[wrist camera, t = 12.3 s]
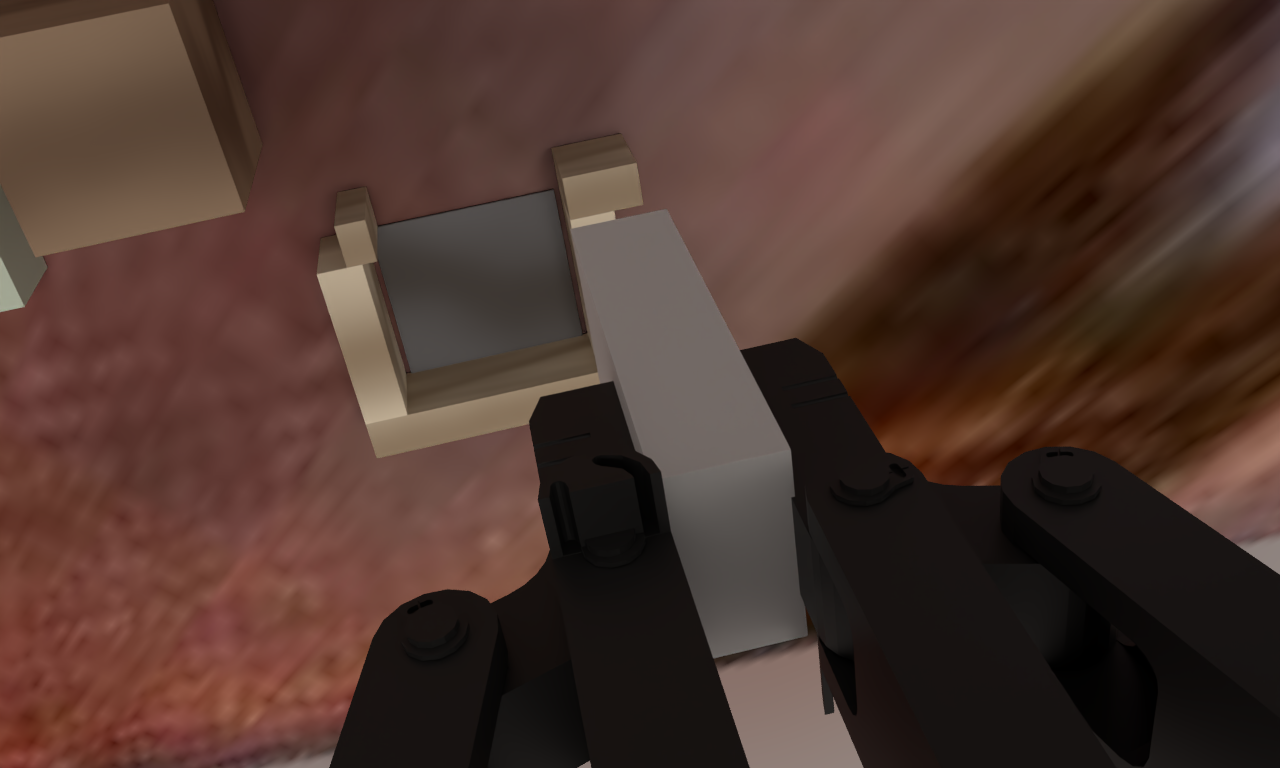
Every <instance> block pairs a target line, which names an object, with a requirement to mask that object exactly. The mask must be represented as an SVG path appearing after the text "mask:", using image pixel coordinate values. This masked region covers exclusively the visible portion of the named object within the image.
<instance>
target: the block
mask: <svg viewBox="0 0 1280 768" xmlns="http://www.w3.org/2000/svg"><path fill="white" fill-rule="evenodd" d="M262 145H263V144H262V142H261V139H260V136H259V133H258V130H257V127H256V124H255V121H254V118H253V116H252V113H251V110H250V107H249V104H248V101H247V98H246V95H245V92H244V89H243V87H242V84H241V81H240V78H239V75H238V72H237V69H236V66H235V63H234V60H233V58H232V55H231V52H230V49H229V46H228V43H227V40H226V37H225V34H224V31H223V29H222V26H221V23H220V20H219V17H218V14H217V11H216V8H215V5H214V2H213V0H0V184H1V186H2V189H3V191H4V193H5V195H6V197H7V199H8V201H9V203H10V205H11V207H12V209H13V211H14V214H15V216H16V218H17V220H18V222H19V224H20V226H21V228H22V230H23V232H24V234H25V237H26V239H27V241H28V243H29V245H30V247H31V249H32V251H33V253H34V255H35V257H40V256H45V255H49V254H54V253H58V252H63V251H67V250H72V249H77V248H81V247H86V246H90V245H95V244H99V243H104V242H109V241H113V240H118V239H122V238H127V237H132V236H136V235H141V234H145V233H150V232H154V231H159V230H164V229H168V228H173V227H177V226H182V225H187V224H191V223H196V222H200V221H205V220H209V219H214V218H219V217H223V216H228V215H232V214H237V213H242V212H245V209H246V205H247V201H248V198H249V194H250V190H251V186H252V183H253V179H254V175H255V171H256V167H257V164H258V160H259V156H260V152H261V149H262Z"/></svg>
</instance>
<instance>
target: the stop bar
mask: <svg viewBox="0 0 1280 768" xmlns="http://www.w3.org/2000/svg"><path fill="white" fill-rule="evenodd" d="M46 269H47V265H46V263H45V261H44V259H43V256H40V257H35V255H34V253H33V251H32V249H31V247H30V245H29V243H28V241H27V239H26V237H25V234H24V232H23V230H22V228H21V226H20V224H19V222H18V220H17V218H16V216H15V214H14V211H13V209H12V207H11V205H10V203H9V201H8V199H7V197H6V195H5V193H4V191H3V189H2V186H1V184H0V312H2V311H7V310H12V309H17V308H21V307H25V305H26V304H27V302H28V300H29V298H30V297H31V295H32V293H33V291H34V290H35V288H36V286H37V285H38V283H39V281H40V279H41V278H42V276H43V274H44V272H45V271H46Z"/></svg>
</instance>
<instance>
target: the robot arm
mask: <svg viewBox="0 0 1280 768" xmlns="http://www.w3.org/2000/svg"><path fill="white" fill-rule="evenodd" d="M570 230H571V235H572V241H573V246H574V251H575V256H576V261H577V267H578V272H579V277H580V282H581V287H582V293H583V298H584V303H585V308H586V314H587V319H588V324H589V329H590V334H591V340H592V345H593V350H594V355H595V360H596V366H597V371H598V376H599V381H600V384H597V385H592V386H588V387H583V388H579V389H574V390H570V391H565V392H561V393H556V394H551V395H547V396H542V397H540V399H539V401H538V403H537V405H536V407H535V409H534V411H533V414H532V416H531V418H530V420H529V425H530V430H531V436H532V441H533V446H534V452H535V457H536V463H537V467H538V473H539V479H540V488H539V495H538V502H539V506H540V510H541V515H542V519H543V523H544V527H545V531H546V535H547V539H548V544H549V548H550V551H549V554H548V557H547V559H546V562H545V563H544V565H543V566H542V567H541V569H540V570H539V572H538V573H537V574H536V575H535V576H534V577H533V578H532V579H531V580H529V581H528V582H527V583H526V584H525V585H524V586H522V587H520V588H519V589H517V590H515V591H514V592H512V593H510V594H509V595H507V596H505V597H503V598H501V599H499V600H497V601H495V602H493V603H491V604H490V603H489V601H488V600H487V599H486V598H483V597H481V596H479V595H477V594H475V593H473V592H471V591H462V590H449V589H447V590H442V591H437V592H432V593H427V594H423V595H421V596H419V597H417V598H415V599H413V600H411V601H409V602H406V603H404V604H402V605H401V606H399V607H398V608H397V609H396V610H395V611H394V612H393V613H391V614H390V615H389V616H388V617H387V618H386V619H384V620H383V622H382V624H381V625H380V627H379V629H378V630H377V632H376V634H375V635H374V637H373V639H372V642H371V645H370V648H369V651H368V654H367V657H366V660H365V663H364V666H363V669H362V672H361V675H360V678H359V681H358V684H357V687H356V690H355V693H354V696H353V699H352V702H351V705H350V708H349V711H348V714H347V717H346V720H345V722H344V725H343V728H342V731H341V734H340V737H339V740H338V743H337V746H336V749H335V752H334V755H333V758H332V761H331V764H330V767H329V768H577V767H579V766H581V765H583V764H585V763H586V762H588V761H590V763H591V768H750V767H749V765H748V762H747V758H746V755H745V753H744V750H743V747H742V744H741V740H740V737H739V734H738V731H737V728H736V725H735V722H734V719H733V716H732V713H731V710H730V708H729V704H728V701H727V698H726V695H725V693H724V689H723V686H722V684H721V680H720V677H719V674H718V671H717V668H716V665H715V662H714V659H713V658H717V657H721V656H726V655H730V654H734V653H738V652H742V651H746V650H750V649H755V648H759V647H763V646H767V645H771V644H775V643H780V642H784V641H788V640H792V639H796V638H800V637H804V636H808V634H807V623H806V612H805V606H806V608H807V611H808V613H809V615H810V617H811V620H812V622H813V624H814V626H815V629H816V631H817V637H818V649H819V659H820V673H821V685H822V695H823V704H824V710H825V714H830V713H834V702H833V697H834V700H835V702H836V704H837V707H838V709H839V711H840V714H841V716H842V718H843V721H844V723H845V725H846V727H847V730H848V732H849V735H850V737H851V739H852V742H853V744H854V746H855V748H856V751H857V753H858V756H859V758H860V760H861V762H862V765H863V767H864V768H1280V575H1279V574H1278V573H1276V572H1275V571H1273V570H1272V569H1271V568H1269V567H1268V566H1266V565H1265V564H1263V563H1262V562H1260V561H1259V560H1258V559H1256V558H1255V557H1253V556H1252V555H1250V554H1249V553H1247V552H1246V551H1244V550H1243V549H1241V548H1240V547H1239V546H1237V545H1236V544H1234V543H1233V542H1231V541H1230V540H1228V539H1227V538H1225V537H1224V536H1223V535H1221V534H1220V533H1218V532H1217V531H1215V530H1214V529H1212V528H1211V527H1209V526H1208V525H1206V524H1205V523H1204V522H1202V521H1201V520H1199V519H1198V518H1196V517H1195V516H1193V515H1192V514H1190V513H1189V512H1188V511H1186V510H1185V509H1183V508H1182V507H1180V506H1179V505H1177V504H1176V503H1174V502H1173V501H1171V500H1170V499H1169V498H1167V497H1166V496H1164V495H1163V494H1161V493H1160V492H1158V491H1157V490H1155V489H1154V488H1153V487H1151V486H1150V485H1148V484H1147V483H1145V482H1144V481H1142V480H1141V479H1139V478H1138V477H1136V476H1135V475H1134V474H1132V473H1131V472H1129V471H1128V470H1126V469H1125V468H1123V467H1122V466H1120V465H1119V464H1118V463H1116V462H1115V461H1112V460H1110V459H1108V458H1106V457H1104V456H1102V455H1100V454H1098V453H1096V452H1093V451H1089V450H1084V449H1079V448H1074V447H1044V448H1040V449H1036V450H1032V451H1028V452H1025V453H1023V454H1021V455H1020V456H1018V457H1017V458H1015V459H1013V460H1012V461H1010V462H1009V463H1008V464H1007V466H1006V468H1005V470H1004V472H1003V473H1002V475H1001V486H955V485H942V484H938V483H933V482H928V481H927V480H926V478H925V477H924V475H923V474H922V472H920V471H919V470H918V469H917V468H916V467H915V466H914V465H913V464H912V463H911V462H910V461H908V460H906V459H903V458H901V457H898V456H896V455H894V454H891V453H886V452H885V450H884V449H883V447H882V446H881V444H880V443H879V441H878V439H877V438H876V436H875V435H874V433H873V432H872V430H871V428H870V427H869V425H868V424H867V422H866V421H865V419H864V417H863V416H862V414H861V413H860V411H859V410H858V408H857V406H856V405H855V403H854V402H853V400H852V399H851V397H850V396H848V394H847V391H846V389H845V388H844V386H843V384H842V383H841V381H840V380H839V379H837V376H836V373H835V372H834V370H833V369H832V367H831V365H830V364H829V362H828V361H827V359H826V358H825V356H824V354H823V353H821V352H819V351H818V350H816V349H814V348H813V347H811V346H809V345H807V344H806V343H804V342H802V341H800V340H799V339H797V338H794V339H789V340H784V341H780V342H775V343H771V344H766V345H762V346H757V347H753V348H748V349H744V350H739V348H738V346H737V344H736V342H735V340H734V338H733V336H732V334H731V332H730V331H729V329H728V327H727V325H726V323H725V321H724V319H723V317H722V315H721V313H720V311H719V309H718V307H717V305H716V303H715V302H714V300H713V298H712V296H711V294H710V292H709V290H708V288H707V286H706V284H705V282H704V280H703V278H702V276H701V274H700V272H699V271H698V269H697V267H696V265H695V263H694V261H693V259H692V257H691V255H690V253H689V251H688V249H687V247H686V245H685V243H684V241H683V240H682V238H681V236H680V234H679V232H678V230H677V228H676V226H675V224H674V222H673V220H672V218H671V216H670V214H669V212H668V210H667V209H663V210H658V211H654V212H649V213H644V214H639V215H634V216H630V217H625V218H620V219H615V220H611V221H606V222H601V223H596V224H591V225H587V226H582V227H577V228H572V229H570Z"/></svg>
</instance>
